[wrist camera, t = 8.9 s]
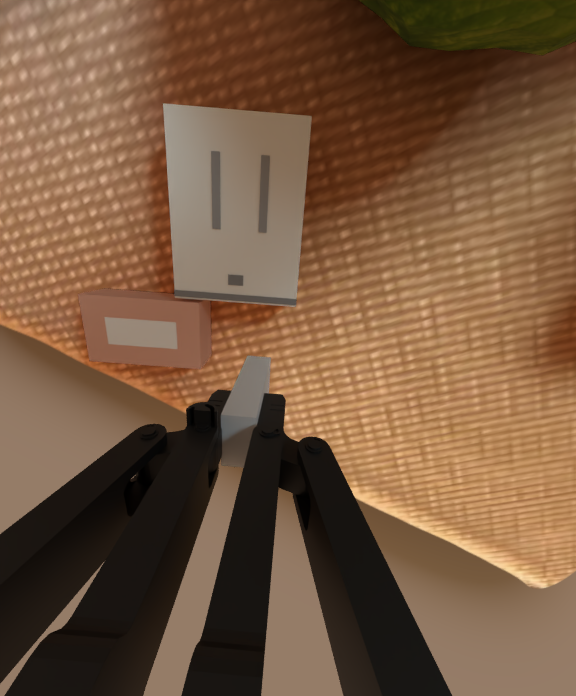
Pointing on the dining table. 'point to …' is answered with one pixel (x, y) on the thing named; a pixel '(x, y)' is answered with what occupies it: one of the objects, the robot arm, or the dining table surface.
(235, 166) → the two-slot toaster
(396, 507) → the dining table surface
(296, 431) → the dining table surface
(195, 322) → the stub
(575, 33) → the lettuce
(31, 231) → the dining table surface
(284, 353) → the dining table surface
